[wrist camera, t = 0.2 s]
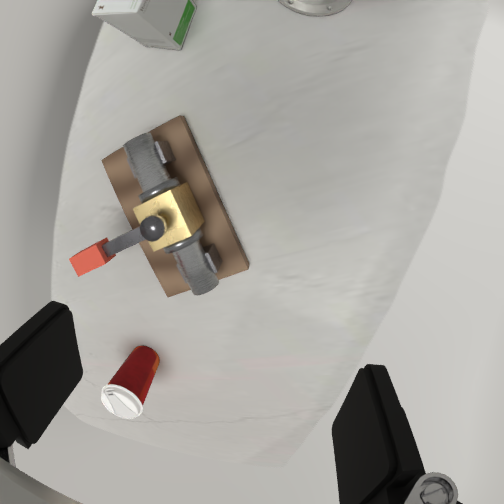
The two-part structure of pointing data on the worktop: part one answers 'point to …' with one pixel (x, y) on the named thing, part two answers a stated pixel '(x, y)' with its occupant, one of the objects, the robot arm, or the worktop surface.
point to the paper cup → (131, 383)
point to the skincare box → (149, 20)
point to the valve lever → (118, 244)
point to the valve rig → (176, 208)
